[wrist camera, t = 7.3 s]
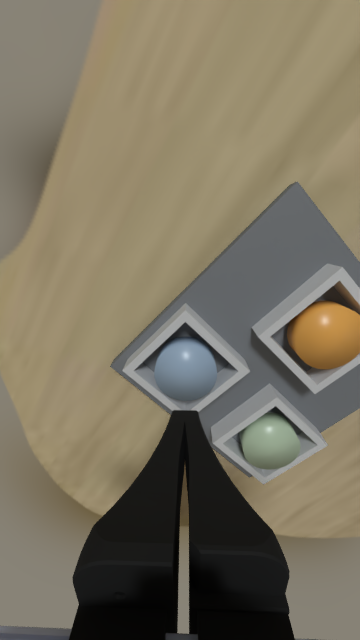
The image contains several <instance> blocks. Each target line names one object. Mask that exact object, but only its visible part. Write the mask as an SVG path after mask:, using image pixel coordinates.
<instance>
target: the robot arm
mask: <svg viewBox="0 0 360 640" xmlns="http://www.w3.org/2000/svg"><path fill="white" fill-rule="evenodd" d="M184 465H186V478H187V491H188V503H189V634H179V633H177V621H178V619H177V618H178V617H177V616H178V572H179V527H180V504H181V495H182V485H183V475H184ZM288 580H289V569H288V565H287V562H286V560H285V557H284V554H283V552H282V549H281V547H280V545H279V543H278V541H277V539H276V536H275V534H274V532H273V530H272V529H271V528H270V527H269V526H268V525H267V524H266V523H265V522H264V521H263V520H262V519H261V517H260V516H259V515H258V514H257V513H256V512H255V511H254V509H253V508H252V507H251V506H250V505H249V503H248V502H247V501H246V500H245V498H244V497H243V496H242V495H241V493H240V492H239V491H238V489H237V488H236V487H235V485H234V484H233V483H232V481H231V480H230V478H229V477H228V475H227V474H226V472H225V470H224V469H223V467H222V466H221V464H220V462H219V461H218V459H217V457H216V455H215V453H214V451H213V450H212V447H211V445H210V443H209V441H208V439H207V437H206V435H205V432H204V430H203V427H202V424H201V421H200V418H199V413H198V411H196V410H173V411H172V413H171V417H170V420H169V423H168V425H167V428H166V430H165V432H164V434H163V436H162V438H161V440H160V442H159V444H158V446H157V448H156V449H155V451H154V453H153V455H152V456H151V458H150V460H149V461H148V463H147V464H146V466H145V467H144V469H143V470H142V472H141V473H140V474H139V476H138V477H137V478H136V480H135V481H134V482H133V484H132V485H131V486H130V487H129V489H128V490H127V491H126V492H125V493H124V494H123V495H122V497H121V498H120V499H119V500H118V501H117V502H116V503H115V505H114V506H113V507H112V508H111V509H110V510H109V511H108V512H107V513H106V514H105V515H104V516H103V517H102V518H101V519H100V520H99V521H98V522H97V523H96V524H95V525H94V526H93V528H92V530H91V532H90V534H89V536H88V538H87V540H86V542H85V544H84V547H83V549H82V551H81V554H80V557H79V560H78V563H77V566H76V569H75V572H74V575H73V584H74V588H75V592H76V595H77V599H78V602H79V606H78V610H77V613H76V616H75V620H74V623H73V627H72V629H63V628H40V627H17V626H0V640H316V639H294V635H293V631H292V627H291V623H290V620H289V616H288V614H289V606H288V603H287V599H286V595H285V592H286V588H287V584H288Z"/></svg>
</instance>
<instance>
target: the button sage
mask: <svg viewBox="0 0 360 640" xmlns="http://www.w3.org/2000/svg"><path fill="white" fill-rule="evenodd" d="M240 440H241V444H242V448H243V452H244V456H245V458H246V460H247V461H248V462H249V463H250V464H252V465H253V466H255V467H257V468H260V469H266V470H273V469H279V468H282V467H285V466H287V465H289V464H290V463H292V462H293V461H294V460H295V459H296V458H297V456H298V454H299V452H300V448H301V446H300V441H299V439H298V437H297V435H296V433H295V431H294V429H293V428H292V426H291V424H290V422H289V421H288V420H287V419H286V418H285V417H284V416H282V415H280V414H277V413H272V412H267V413H265V414H264V415H262V416H261V417H259V418H258V419H257V420H255V421H254V422H252V423H251V424H250V425H248V426H247V427H245V428H244V429H242V430H241V431H240Z"/></svg>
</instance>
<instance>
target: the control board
mask: <svg viewBox="0 0 360 640" xmlns="http://www.w3.org/2000/svg"><path fill="white" fill-rule="evenodd" d="M324 300H325V301H333V302H336V303H338V304H340V305H342V306H345V307H347V308H349V309H351V310H353V311H355V312H356V313H358V314H359V315H360V262H359V261H358V260H357V258H356V257H355V256H354V254H353V253H352V252H351V251H350V249H349V248H348V247H347V245H346V244H345V243H344V241H343V240H342V239H341V237H340V236H339V235H338V234H337V232H336V231H335V230H334V228H333V227H332V226H331V224H330V223H329V222H328V221H327V219H326V218H325V217H324V215H323V214H322V213H321V211H320V210H319V209H318V208H317V206H316V205H315V204H314V202H313V201H312V200H311V198H310V197H309V196H308V195H307V193H306V192H305V191H304V189H303V188H302V187H301V185H300V184H299V183H298V182H295V183H293V184H291V185H289V186H288V187H287V188H286V189H285V190H284V191H283V192H282V193H281V194H280V195H279V196H278V197H277V198H276V199H275V200H274V201H273V202H272V203H271V204H270V205H269V206H268V207H267V208H266V209H265V210H264V211H263V212H262V213H261V214H260V215H259V216H258V217H257V218H256V219H255V220H254V221H253V222H252V223H251V224H250V225H249V226H248V227H247V228H246V229H245V230H244V231H243V232H242V233H241V234H240V235H239V236H238V237H237V238H236V239H235V240H234V241H233V242H232V243H231V244H230V245H229V246H228V247H227V248H226V249H225V250H224V251H223V252H222V253H221V254H220V255H219V256H218V257H217V258H216V259H215V260H214V261H213V262H212V263H211V264H210V265H209V266H208V267H207V268H206V269H205V270H204V271H203V272H202V273H201V274H200V275H199V276H198V277H197V278H196V279H195V280H194V281H193V282H192V283H191V284H190V285H189V286H188V287H186V288H185V289H184V290H183V291H182V292H181V293H180V294H179V295H178V296H177V297H176V298H175V299H174V300H173V301H172V302H171V303H170V304H169V305H168V306H167V307H166V308H165V309H164V310H163V311H162V312H161V313H160V314H159V315H158V316H157V317H156V318H155V319H154V320H153V321H152V322H151V323H150V324H149V325H148V326H147V327H146V328H145V329H144V330H143V331H142V332H141V333H140V334H139V335H138V336H137V337H136V338H135V339H134V340H133V341H132V342H131V343H130V344H129V345H128V346H127V347H126V348H125V349H124V350H123V351H122V352H121V353H120V354H119V355H118V356H117V357H116V358H115V359H114V360H113V362H112V364H111V366H110V367H112V368H113V369H114V370H115V371H117V372H118V373H119V374H120V375H122V376H123V377H124V378H125V379H127V380H128V381H129V382H130V383H132V384H133V385H134V386H135V387H137V388H138V389H139V390H141V391H142V392H143V393H144V394H146V395H147V396H148V397H149V398H151V399H152V400H153V401H154V402H156V403H157V404H158V405H159V406H161V407H162V408H163V409H164V410H166V411H167V412H168V413H169V414H171V413H172V411H173V410H196V411H198V413H199V418H200V421H201V424H202V427H203V430H204V432H205V435H206V437H207V439H208V441H209V443H210V445H211V447H212V448H213V449H214V450H216V451H217V452H218V453H219V454H221V455H222V456H223V457H225V458H226V459H227V460H228V461H230V462H231V463H232V464H233V465H235V466H236V467H237V468H238V469H240V470H241V471H242V472H243V473H245V474H246V475H247V476H248V477H251V476H254V477H255V478H256V479H258V480H259V481H260V482H261V483H263V484H265V483H267V482H269V481H270V480H272V479H273V478H275V477H277V476H278V475H280V474H282V473H283V472H285V471H287V470H288V469H290V468H292V467H293V466H295V465H296V464H298V463H300V462H301V461H303V460H305V459H306V458H308V457H310V456H311V455H313V454H315V453H316V452H318V451H319V450H321V449H323V448H324V447H326V446H328V444H327V443H326V441H325V440H324V438H323V437H322V435H321V434H320V433H321V432H323V431H324V430H326V429H327V428H329V427H330V426H332V425H334V424H335V423H337V422H338V421H340V420H342V419H343V418H345V417H346V416H348V415H349V414H351V413H353V412H354V411H356V410H357V409H359V408H360V353H359V354H358V355H357V356H356V357H355V358H354V359H353V360H351V361H350V362H348V363H347V364H345V365H343V366H340V367H337V368H334V369H317V368H314V367H311V366H309V365H308V364H306V363H305V362H304V361H303V360H302V359H301V358H300V357H299V356H298V355H297V354H296V352H295V351H294V350H293V349H292V348H291V346H290V345H289V342H288V339H287V330H288V326H289V323H290V321H291V319H293V318H294V317H295V316H296V315H298V314H299V313H300V312H301V311H303V310H304V309H305V308H306V307H308V306H309V305H310V304H311V303H313V302H316V301H324ZM178 337H193V338H196V339H199V340H201V341H203V342H204V343H205V344H207V345H208V346H209V348H210V349H211V351H212V352H213V355H214V359H215V364H216V368H217V379H216V383H215V385H214V387H213V388H212V389H211V391H210V392H209V393H207V394H206V395H205V396H203V397H201V398H198V399H195V400H190V401H182V400H177V399H174V398H171V397H169V396H167V395H166V394H165V393H163V392H162V391H161V389H160V388H159V387H158V385H157V383H156V381H155V376H154V370H155V366H156V361H157V357H158V354H159V352H160V350H161V348H162V347H163V346H164V345H165V344H166V343H167V342H169V341H170V340H172V339H175V338H178ZM267 412H272V413H277V414H280V415H282V416H284V417H285V418H286V419H287V420H288V421H289V422H290V424H291V426H292V428H293V429H294V431H295V433H296V435H297V437H298V439H299V441H300V446H301V448H300V452H299V454H298V456H297V458H296V459H295V460H294V461H293V462H292V463H290V464H289V465H287V466H285V467H282V468H279V469H273V470H266V469H260V468H257V467H255V466H253V465H252V464H250V463H249V462H248V461H247V460H246V458H245V456H244V452H243V448H242V444H241V440H240V431H241V430H242V429H244V428H245V427H247V426H248V425H250V424H251V423H252V422H254V421H255V420H257V419H258V418H259V417H261V416H262V415H264V414H265V413H267Z"/></svg>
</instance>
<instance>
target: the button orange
mask: <svg viewBox="0 0 360 640" xmlns="http://www.w3.org/2000/svg"><path fill="white" fill-rule="evenodd" d="M287 339H288V342H289V345H290V346H291V348H292V349H293V350H294V351H295V352H296V354H297V355H298V356H299V357H300V358H301V359H302V360H303V361H304V362H305V363H306V364H308V365H309V366H311V367H314V368H317V369H334V368H337V367H340V366H343V365H345V364H347V363H348V362H350V361H351V360H353V359H354V358H355V357H356V356H357V355H358V354H359V353H360V315H359V314H358V313H356V312H355V311H353V310H351V309H349V308H347V307H345V306H342V305H340V304H338V303H336V302H333V301H325V300H324V301H316V302H313V303H311V304H310V305H309V306H308V307H306V308H305V309H304V310H303V311H301V312H300V313H299V314H298V315H296V316H295V317H294V318H293V319H291V321H290V323H289V326H288V330H287Z"/></svg>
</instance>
